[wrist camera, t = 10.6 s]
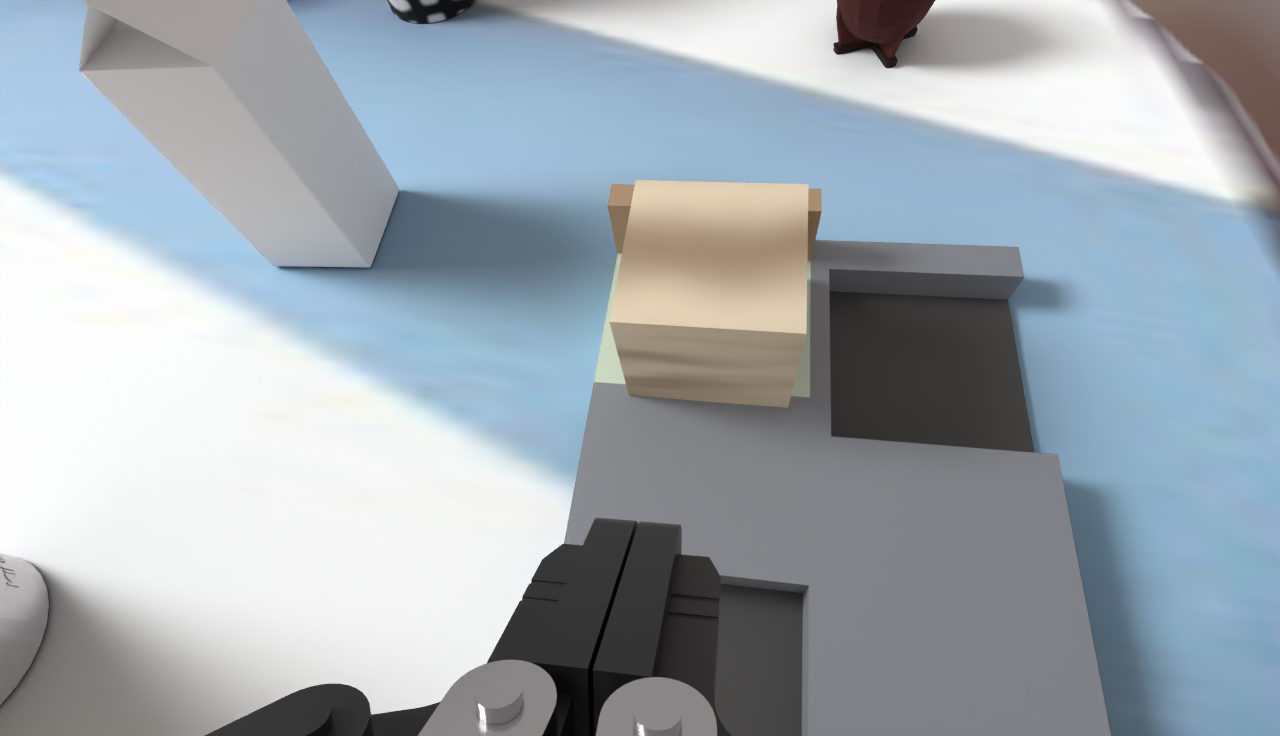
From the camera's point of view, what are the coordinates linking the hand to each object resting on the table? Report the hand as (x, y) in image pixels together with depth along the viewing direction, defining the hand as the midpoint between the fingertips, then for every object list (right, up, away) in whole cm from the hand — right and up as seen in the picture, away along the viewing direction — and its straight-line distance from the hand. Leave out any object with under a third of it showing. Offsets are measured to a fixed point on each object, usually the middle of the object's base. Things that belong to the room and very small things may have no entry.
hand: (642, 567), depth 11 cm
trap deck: (+8, -3, +20) cm, 22 cm away
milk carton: (-21, +13, +33) cm, 41 cm away
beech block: (+4, +5, +22) cm, 23 cm away
